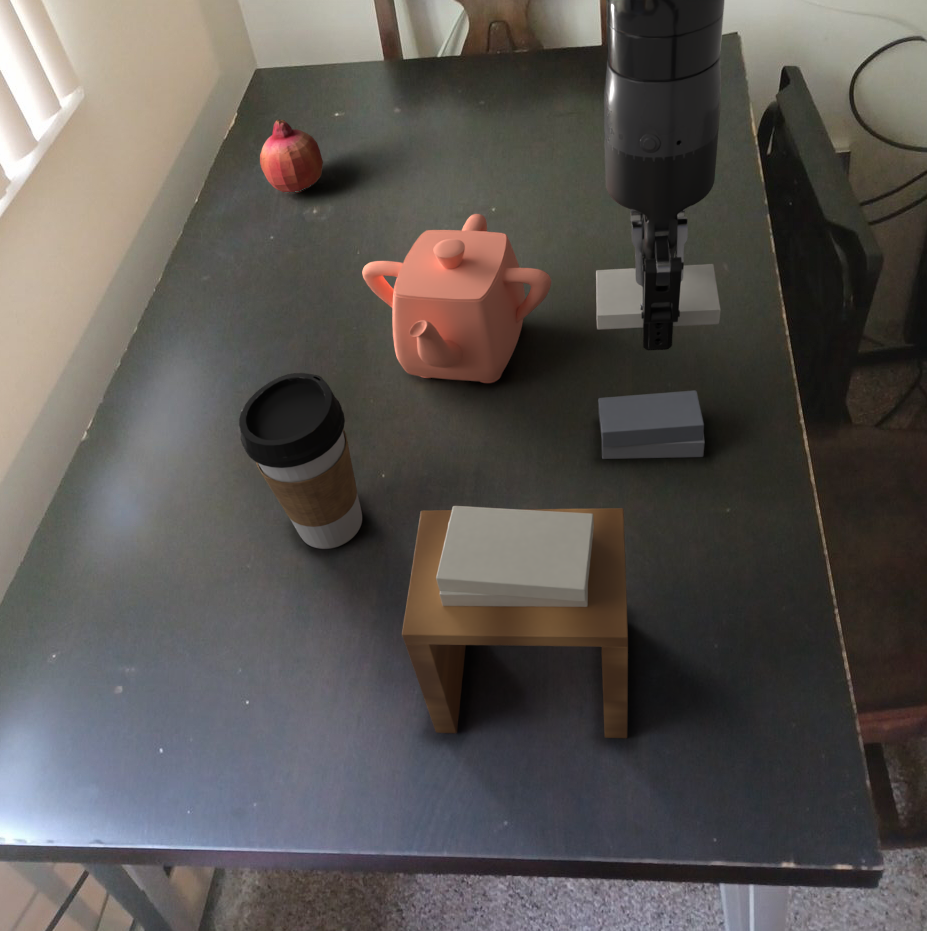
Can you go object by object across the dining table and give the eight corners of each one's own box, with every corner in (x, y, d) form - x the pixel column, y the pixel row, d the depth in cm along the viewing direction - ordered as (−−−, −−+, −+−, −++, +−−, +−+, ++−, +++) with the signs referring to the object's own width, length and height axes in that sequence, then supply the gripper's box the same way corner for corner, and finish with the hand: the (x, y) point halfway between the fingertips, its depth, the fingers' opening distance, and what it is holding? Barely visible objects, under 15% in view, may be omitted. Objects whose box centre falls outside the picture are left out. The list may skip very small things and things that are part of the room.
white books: (594, 529, 60) (593, 503, 58) (594, 614, 56) (593, 589, 54) (451, 531, 62) (445, 505, 60) (441, 613, 57) (434, 589, 55)
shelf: (623, 618, 71) (623, 507, 61) (627, 738, 65) (627, 637, 54) (449, 617, 74) (420, 510, 63) (435, 733, 67) (401, 634, 57)
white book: (712, 278, 73) (713, 263, 72) (719, 324, 69) (720, 309, 68) (596, 284, 74) (596, 269, 73) (597, 329, 70) (596, 315, 69)
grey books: (699, 420, 84) (701, 389, 81) (703, 460, 81) (706, 429, 78) (599, 423, 86) (598, 393, 83) (599, 462, 82) (598, 432, 79)
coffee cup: (395, 512, 82) (359, 393, 71) (330, 576, 78) (281, 461, 67) (331, 474, 86) (287, 356, 75) (266, 533, 82) (210, 418, 71)
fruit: (262, 207, 120) (238, 137, 112) (282, 174, 125) (261, 105, 117) (318, 207, 118) (298, 136, 110) (337, 174, 123) (319, 104, 115)
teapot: (487, 286, 102) (472, 182, 92) (572, 357, 92) (566, 249, 83) (359, 352, 97) (329, 249, 88) (434, 433, 88) (411, 328, 78)
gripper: (730, 177, 55) (711, 380, 67) (709, 69, 65) (695, 264, 77) (605, 186, 56) (609, 384, 69) (603, 78, 66) (606, 269, 78)
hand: (655, 320), depth 73 cm, fingers closed on white book, 5 cm apart
